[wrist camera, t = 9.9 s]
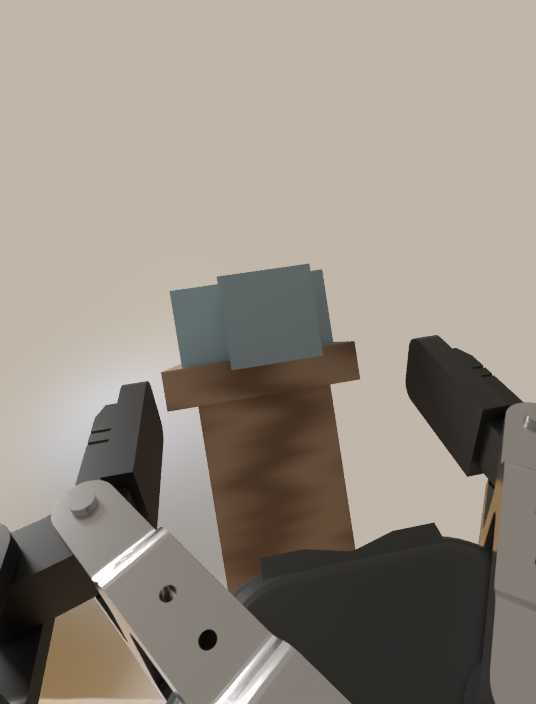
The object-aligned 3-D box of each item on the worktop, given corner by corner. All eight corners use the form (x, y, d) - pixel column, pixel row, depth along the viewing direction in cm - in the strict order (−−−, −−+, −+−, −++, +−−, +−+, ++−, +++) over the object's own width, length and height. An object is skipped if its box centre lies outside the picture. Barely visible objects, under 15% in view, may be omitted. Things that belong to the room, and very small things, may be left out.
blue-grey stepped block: (308, 344, 29) (299, 287, 29) (396, 343, 14) (378, 222, 14) (193, 362, 29) (184, 304, 29) (152, 383, 13) (131, 256, 13)
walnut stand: (382, 748, 31) (321, 342, 30) (436, 889, 23) (354, 341, 22) (247, 782, 30) (179, 364, 29) (254, 940, 22) (161, 372, 21)
